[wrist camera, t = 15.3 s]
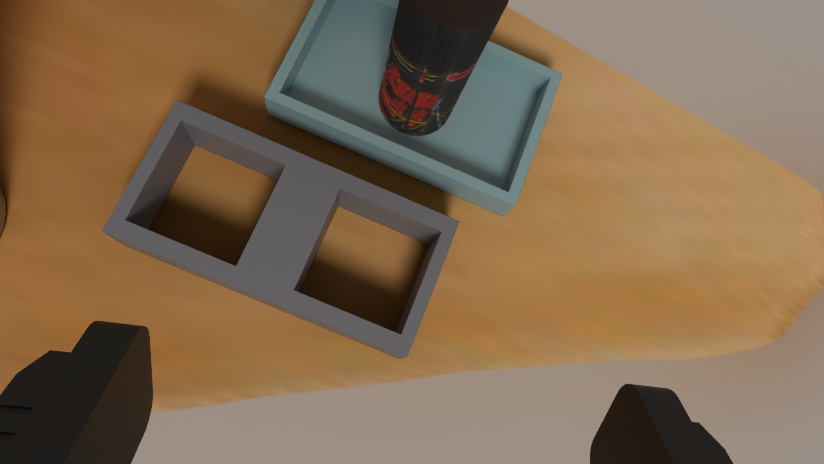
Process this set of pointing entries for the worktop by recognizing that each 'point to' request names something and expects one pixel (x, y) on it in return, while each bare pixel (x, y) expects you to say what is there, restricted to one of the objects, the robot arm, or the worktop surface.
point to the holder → (279, 224)
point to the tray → (377, 140)
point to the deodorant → (433, 59)
